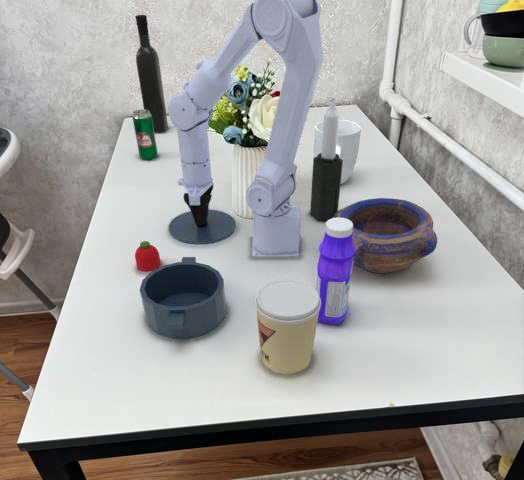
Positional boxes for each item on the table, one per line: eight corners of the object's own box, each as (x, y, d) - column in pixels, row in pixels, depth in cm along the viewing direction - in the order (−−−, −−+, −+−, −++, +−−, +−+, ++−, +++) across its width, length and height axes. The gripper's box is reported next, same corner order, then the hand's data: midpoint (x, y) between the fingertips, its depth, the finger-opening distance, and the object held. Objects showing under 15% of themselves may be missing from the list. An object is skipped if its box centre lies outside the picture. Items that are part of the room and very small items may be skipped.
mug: (356, 197, 118) (363, 141, 109) (310, 195, 119) (313, 140, 110) (354, 171, 129) (360, 119, 120) (312, 170, 130) (315, 118, 121)
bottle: (345, 329, 82) (357, 236, 70) (311, 325, 83) (318, 233, 71) (348, 303, 87) (360, 213, 75) (316, 300, 88) (323, 210, 76)
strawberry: (162, 261, 98) (158, 237, 94) (159, 274, 95) (154, 249, 91) (140, 261, 98) (135, 237, 94) (135, 274, 95) (130, 250, 91)
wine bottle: (151, 126, 156) (133, 13, 136) (169, 127, 155) (153, 13, 135) (146, 133, 152) (127, 17, 131) (164, 133, 151) (148, 17, 131)
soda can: (137, 160, 136) (128, 114, 128) (144, 153, 140) (136, 108, 132) (154, 161, 135) (146, 115, 127) (160, 154, 139) (153, 109, 131)
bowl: (327, 238, 104) (331, 193, 97) (411, 237, 104) (421, 192, 97) (337, 287, 91) (343, 239, 84) (434, 286, 91) (447, 238, 84)
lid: (237, 213, 112) (236, 190, 109) (234, 246, 102) (233, 222, 98) (174, 213, 113) (170, 190, 109) (164, 247, 102) (160, 222, 98)
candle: (320, 222, 109) (329, 101, 92) (308, 213, 112) (314, 94, 95) (339, 217, 110) (351, 97, 94) (326, 208, 114) (336, 90, 97)
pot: (228, 283, 92) (226, 253, 88) (222, 352, 78) (219, 320, 74) (156, 283, 92) (150, 253, 88) (137, 352, 78) (129, 321, 74)
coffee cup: (254, 340, 80) (252, 279, 72) (310, 336, 81) (315, 275, 72) (258, 381, 73) (257, 319, 65) (320, 377, 74) (327, 315, 66)
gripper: (179, 145, 102) (187, 206, 111) (169, 174, 91) (179, 238, 101) (213, 144, 102) (218, 205, 111) (207, 173, 91) (213, 238, 101)
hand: (201, 221), depth 106 cm, fingers closed on lid, 2 cm apart
